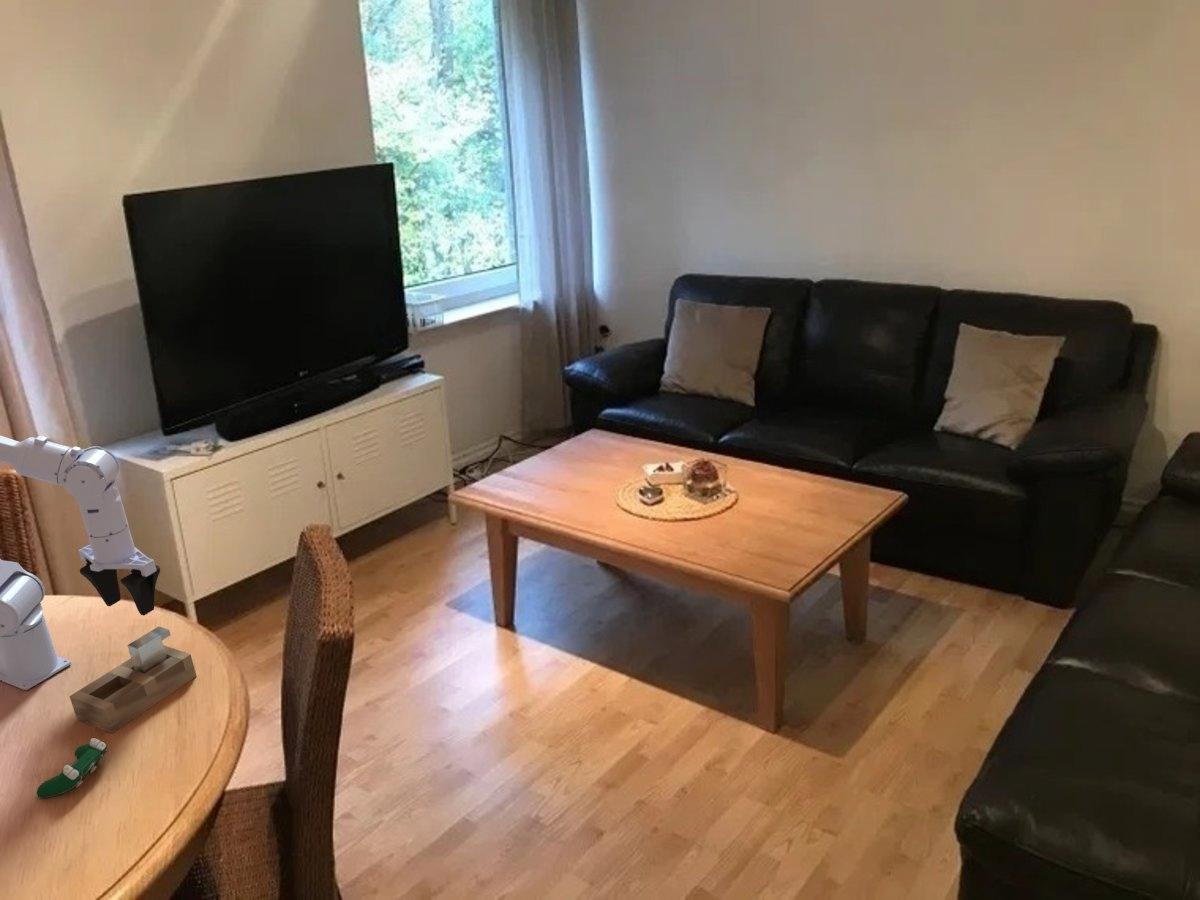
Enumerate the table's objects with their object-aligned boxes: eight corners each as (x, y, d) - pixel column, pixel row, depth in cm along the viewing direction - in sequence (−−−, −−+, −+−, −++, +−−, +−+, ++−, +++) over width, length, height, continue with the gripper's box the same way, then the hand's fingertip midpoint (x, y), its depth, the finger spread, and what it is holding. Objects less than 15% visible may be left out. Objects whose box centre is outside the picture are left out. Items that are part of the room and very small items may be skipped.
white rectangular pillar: (139, 684, 159) (127, 645, 156) (169, 665, 163) (158, 626, 160) (149, 688, 157) (137, 648, 155) (180, 668, 162) (169, 629, 159)
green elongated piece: (54, 812, 138) (74, 789, 135) (31, 794, 137) (50, 770, 135) (99, 766, 146) (118, 743, 144) (77, 748, 146) (96, 725, 143)
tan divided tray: (76, 719, 153) (69, 696, 152) (162, 664, 165) (156, 642, 164) (111, 733, 150) (104, 710, 148) (196, 676, 161) (190, 654, 160)
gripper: (52, 533, 157) (77, 611, 163) (118, 548, 151) (141, 629, 156) (92, 513, 163) (115, 589, 168) (157, 527, 157) (179, 606, 162)
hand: (130, 607), depth 163 cm, fingers open, 7 cm apart
